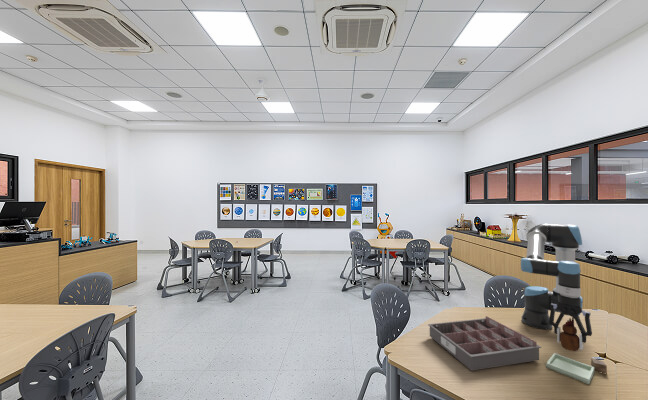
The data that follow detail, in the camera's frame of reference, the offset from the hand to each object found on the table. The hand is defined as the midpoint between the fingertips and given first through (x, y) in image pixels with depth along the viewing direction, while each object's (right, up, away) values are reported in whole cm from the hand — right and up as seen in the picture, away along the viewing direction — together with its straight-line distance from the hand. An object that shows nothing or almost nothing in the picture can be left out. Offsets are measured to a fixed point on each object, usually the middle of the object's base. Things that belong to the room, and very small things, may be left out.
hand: (569, 345), depth 118 cm
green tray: (0, -11, 0) cm, 11 cm away
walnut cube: (+13, -11, -1) cm, 17 cm away
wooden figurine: (0, -2, 0) cm, 2 cm away
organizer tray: (-32, -12, +16) cm, 38 cm away
